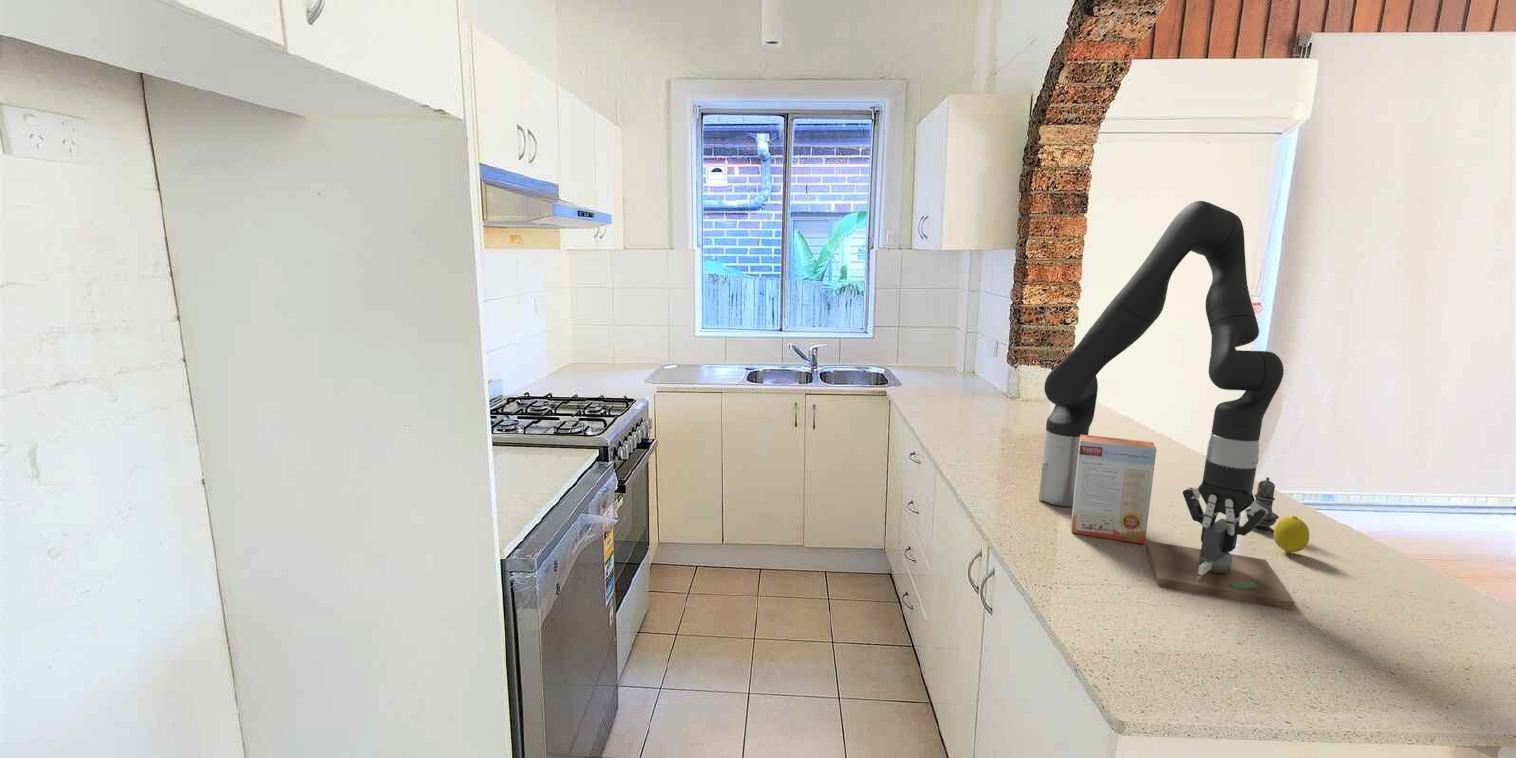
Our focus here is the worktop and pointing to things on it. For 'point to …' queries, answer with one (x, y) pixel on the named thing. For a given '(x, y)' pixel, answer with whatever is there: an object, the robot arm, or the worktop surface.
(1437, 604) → the worktop surface
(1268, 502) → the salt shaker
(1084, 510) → the cracker box
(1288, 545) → the lemon
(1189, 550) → the dial plate
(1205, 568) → the dial pointer knob
